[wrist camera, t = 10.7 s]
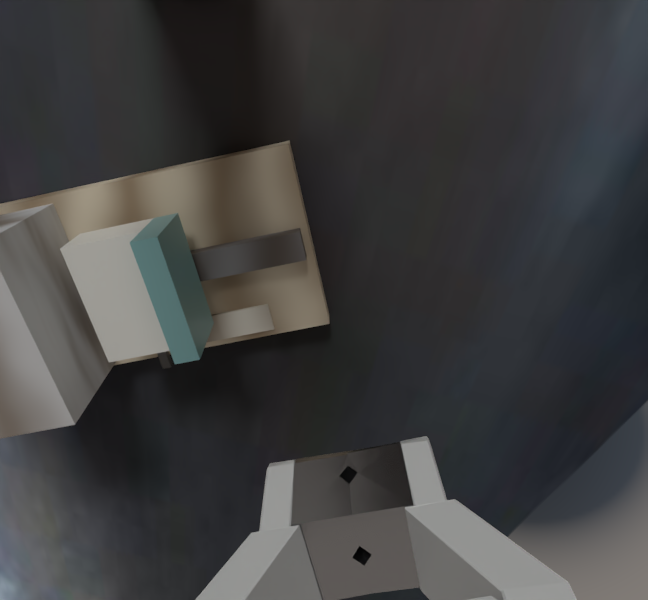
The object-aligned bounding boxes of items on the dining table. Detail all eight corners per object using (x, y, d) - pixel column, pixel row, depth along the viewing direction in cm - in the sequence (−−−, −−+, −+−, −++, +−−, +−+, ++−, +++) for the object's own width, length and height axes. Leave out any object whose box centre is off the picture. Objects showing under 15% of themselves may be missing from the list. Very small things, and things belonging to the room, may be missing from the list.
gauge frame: (289, 140, 36) (281, 167, 27) (329, 314, 41) (332, 384, 32) (-37, 211, 38) (-143, 258, 29) (41, 370, 43) (-28, 450, 34)
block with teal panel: (177, 212, 35) (157, 236, 30) (224, 353, 39) (211, 393, 34) (79, 233, 35) (44, 260, 31) (135, 370, 39) (112, 411, 35)
